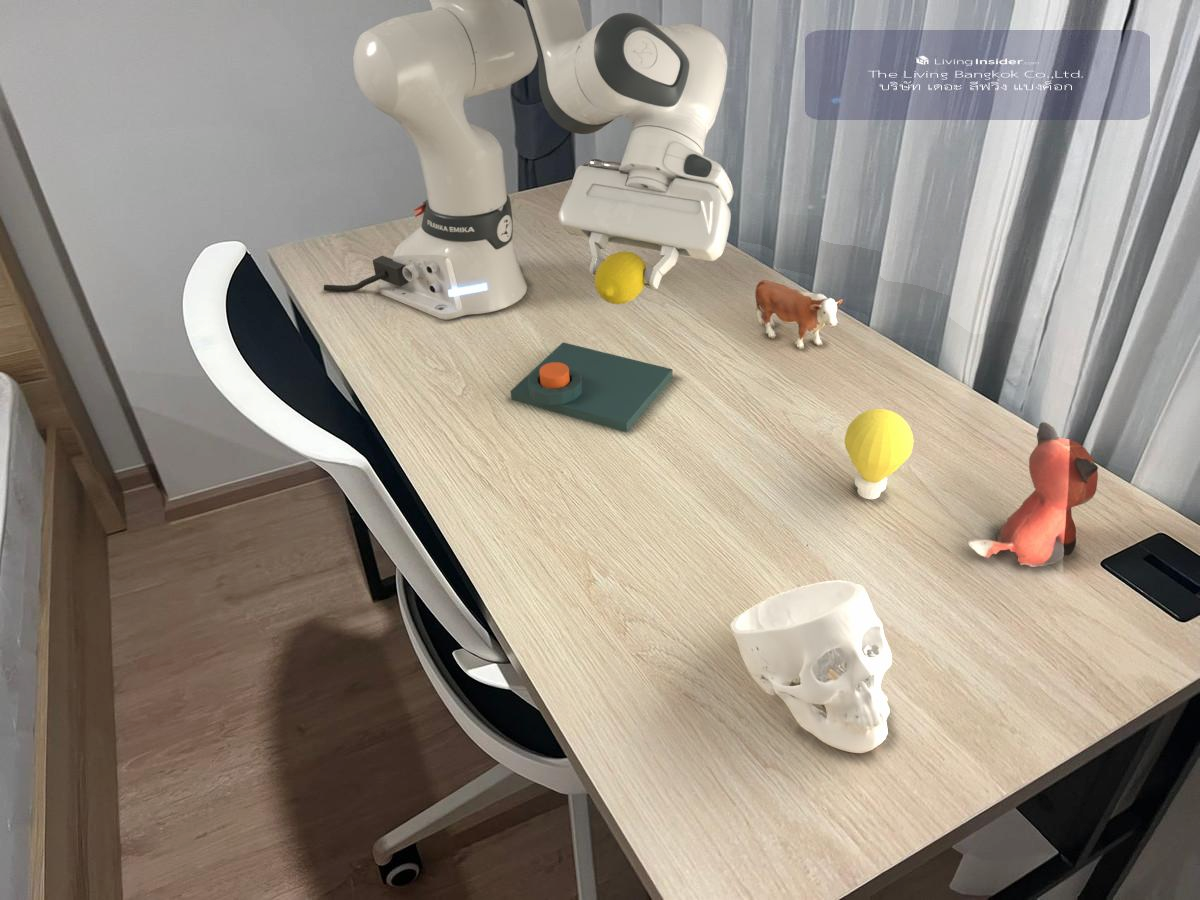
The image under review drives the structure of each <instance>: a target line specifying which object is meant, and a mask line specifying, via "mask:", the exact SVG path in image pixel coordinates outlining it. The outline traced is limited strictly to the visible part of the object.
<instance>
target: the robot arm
mask: <svg viewBox="0 0 1200 900" xmlns="http://www.w3.org/2000/svg"><path fill="white" fill-rule="evenodd" d="M428 1H429V4H430V7H431V9H430V10H425V11H421V12H415V13H411V14H410V13H409V14H405V15H400V16H396V17H392V18H390V19H388V20H385V21H383V22H381V23H379V24H377V25H375V26H373V27H371V28H369V29H367V30H365V31H364V32H362V33H361V34H360V35H359V36H358V39H357V41H356V43H355V46H354V50H353V58H352V60H353V61H352V63H353V73H354V77H355V80H356V82H357V85H358V87H359V90H360V91H361V93H362V94H363V96H364V97H365V99H367V101H368V102H369V103H370V104H371V105H372V106H374V107H375V108H376V109H377V110H379V111H380V112H382V113H384V114H386V115H388V116H389V117H391V118H392V119H394V120H395V121H396V122H397V123H398V124H399V125H401V127H402V128H403V129H404V130H405V131H406V132H407V134H408V136H409V137H410V139H411V141H412V143H413V144H414V146H415V149H416V151H417V155H418V158H419V162H420V165H421V170H422V174H423V180H424V185H425V191H426V196H427V197H426V198H427V199H426V200H425V201H423V202H422V204H421V205H419V206H418V207H416V208H414V209H413V212H415V214H414V217H415V218H417V217H419V216H421V215H423V216H422V221H421V225H420V226H419V227H417V228H416V229H415V230H413V232H412V233H410V235H408V236H407V237H405V238H404V240H402V241H401V242H400V243H399V244H398V245H397V246H396V248H395V249H394V252H393V254H392V258H391V257H388V256H385V255H380V256H378V257H376V258H374V259H372V265H373V270H374V275H372V276H369V277H367V278H364V279H362V280H361V281H359V282H358V283H356V284H350V285H340V284H324V285H323V291H325V292H355V291H359V290H361V289H362V288H365V287H366V286H368V285H370V284H372V283H375V282H377V281H379V280H381V282H380V284H379V294H381V295H382V296H385V297H387V298H390V299H392V300H394V301H397V302H399V303H402V304H404V305H406V306H409V307H412V308H413V309H417V310H418V311H421V312H423V313H426V314H428V315H431V316H432V317H435V318H437V319H440V320H445V321H447V320H454V319H457V318H461V317H464V316H469V315H480V314H487V313H492V312H496V311H500V310H503V309H505V308H508V307H510V306H512V305H514V304H516V303H517V302H519V301H520V300H521V299H523V297H524V296H525V295H526V293H527V291H528V285H527V283H526V281H525V278H524V275H523V273H522V270H521V267H520V264H519V260H518V255H517V252H516V248H515V243H514V237H513V235H514V234H513V232H514V221H513V220H514V219H513V210H512V204H511V202H512V201H511V198H510V196H509V195H508V194H507V183H506V181H507V180H506V173H505V171H506V170H505V162H504V161H505V160H504V152H503V148H502V145H501V144H500V142H499V140H498V139H497V138H496V137H495V135H493V134H492V133H491V132H490V131H489V130H487V129H485V128H482V127H481V126H478V125H476V124H472V123H470V122H469V121H468V119H467V115H466V112H465V106H464V104H465V103H464V102H465V100H467V99H471V98H475V97H478V96H481V95H485V94H489V93H492V92H497V91H501V90H503V89H506V88H508V87H509V86H511V85H513V84H515V83H516V82H519V81H520V80H521V79H524V77H526V76H528V75H529V74H531V73H532V72H533V70H534V69H535V67H536V64H537V61H538V85H539V87H538V88H539V93H540V94H539V95H540V98H541V101H542V104H543V106H544V108H545V110H546V111H547V113H548V115H549V116H550V117H551V118H552V120H553V121H554V122H555V123H557V125H558V126H560V127H561V128H563V129H565V130H566V131H568V132H571V133H573V134H577V135H589V134H594V133H596V132H598V131H600V130H602V129H603V128H605V127H606V126H607V125H609V124H610V123H612V122H613V121H614V120H616V119H618V118H621V117H622V116H623V117H625V118H626V119H629V120H630V122H631V124H632V128H631V132H630V136H629V138H628V142H627V144H626V148H625V151H624V154H623V156H622V159H621V162H618V161H608V160H607V161H605V160H602V159H598V158H592V159H590V160H589V161H586V162H584V163H582V164H581V165H579V166H577V168H576V170H575V172H574V175H573V178H572V183H571V185H570V186H569V188H568V190H567V192H566V194H565V197H564V199H563V200H562V204H561V206H560V208H559V211H558V215H557V216H558V222H559V223H560V226H561V227H562V228H563V230H565V232H567V233H568V234H570V235H571V236H576V237H582V238H586V239H588V244H589V245H588V246H589V249H590V254H591V262H590V264H589V268H588V272H589V274H590V275H591V276H593V277H595V275H596V271H597V269H598V267H599V266H600V264H601V263H602V262H603V261H604V260H605V259H603V254H602V250H605V251H606V249H607V246H608V244H609V243H612V244H619V245H622V246H628V247H633V248H640V249H645V250H648V251H649V250H650V251H655V252H659V255H660V256H661V259H659V261H657V263H656V264H655V265H654V266H653V267H652V268H651V267H646V269H645V272H644V274H645V275H644V276H643V280H642V282H643V284H644V287H646V288H649V289H650V288H651V289H656V290H657V289H658V288H659V286H660V283H661V281H662V277H663V276H665V275H666V274H667V273H668V272H669V271H670V270H671V269H672V268H673V267H674V266H675V265H676V264H677V261H678V258H679V256H681V257H686V258H692V259H697V260H702V261H707V262H715V261H716V260H717V259H719V258H720V257H721V256H722V255H723V253H724V251H725V248H726V244H727V240H728V237H729V232H730V227H731V219H732V213H731V209H730V207H729V204H730V203H731V201H732V199H733V196H734V187H733V184H732V182H731V179H730V178H729V175H728V174H727V172H726V171H725V169H724V168H723V166H722V165H721V164H720V163H718V162H717V161H715V160H713V159H711V158H709V157H707V156H705V149H706V138H707V136H708V133H709V132H710V131H711V130H712V127H713V126H714V124H715V122H716V119H717V115H718V112H719V109H720V106H721V102H722V98H723V95H724V92H725V91H724V90H725V86H726V81H727V76H728V56H727V52H726V48H725V46H724V45H723V43H722V42H721V40H720V39H719V38H718V37H717V36H716V35H715V34H713V32H711V31H709V29H706V28H705V27H703V26H700V25H697V24H693V23H681V24H677V25H663V24H657V23H653V22H651V21H650V20H648V19H647V18H645V17H643V16H642V15H639V14H636V13H632V12H621V13H618V14H617V13H616V14H614V15H612V16H610V17H609V18H607V19H605V20H603V21H601V22H600V23H598V24H597V25H596V26H594V27H592V28H591V29H590V30H589V31H587V29H586V26H585V20H584V17H583V14H582V10H581V7H580V3H579V0H522V4H523V6H522V5H521V4H520V3H518V2H516V1H515V0H428ZM416 211H417V212H416Z"/></svg>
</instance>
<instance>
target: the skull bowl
mask: <svg viewBox="0 0 1200 900" xmlns="http://www.w3.org/2000/svg"><path fill="white" fill-rule="evenodd" d="M730 630H731V632H732V635H733V637H734V639H735V641H736V644H737V646H738V649H739V652H740V656H741V658H742V661H743V662H744V665H745V667H746V669H747V671H748V673H749V674H750V676H751V677H752V679H753V680H754V682H755V683H756V684H757V685H759V687H760V688H761V689H762V690H763V691H764V692H765V693H767V694H768V695H770V696H776V695H777V696H778V697H779V698H781V700H782V701H783V703H785V704H786V706H787V708H788V709H789V711H790V712H791V714H792V717H794V719H795V720H796V722H797V724H798V725H799V726H800V727H801V728H802V729H804V730H805V731H806V732H809V733H810V734H812V735H813V736H814V737H816V738H817V739H819V740H820V741H821V742H822V743H824V744H826V745H827V746H830V747H832V748H834V749H837V750H841V751H843V752H848V753H851V754H863V753H868V752H870V751H873V750H874V749H875V748H877V747H879V746H880V745H881V744H883V742H884V741H885V740H886V738H887V736H888V734H889V733H888V732H889V730H888V725H887V720H888V717H889V715H890V713H891V711H890V707H889V704H888V697H887V695H885V693H884V692H883V691H882V687H881V684H882V680H883V677H884V675H885V673H886V672H887V671H888V669H889V668H890V667H892V663H893V656H892V652H891V649H890V646H889V644H888V641H887V639H886V636H885V632H884V628H883V622H882V621H881V619H880V618H879V617H878V616H877V614H876V612H875V610H874V608H873V605H872V602H871V600H870V598H869V595H868V593H867V591H866V589H865V587H864V586H863V585H862V584H859V583H855V582H852V581H848V580H840V579H839V580H837V579H836V580H835V579H834V580H826V581H819V582H815V583H811V584H810V583H809V584H806V585H802V586H797V587H795V588H791V589H789V590H785V591H782V592H779V593H777V594H774V595H772V596H770V597H768V598H766V599H764V600H762V601H760V602H758V603H756V604H754V605H753V606H751V607H749V608H747V609H745V610H744V611H742V612H741V613H739V614H738V615H737V616H736V617H735V618H733V620H732V621H731V623H730ZM830 669H831V670H832V671H833V672H836V673H837V674H838V675H839V676H838V677H836V679H832V678H828V676H829V674H828V673H829V670H830ZM792 683H794V684H796V685H791V684H792ZM798 683H800V684H798ZM815 705H823V706H824V708H825V710H826V711H824V710H822V709H820V708H818V707H816V706H815Z"/></svg>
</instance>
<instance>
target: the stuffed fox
mask: <svg viewBox="0 0 1200 900" xmlns="http://www.w3.org/2000/svg"><path fill="white" fill-rule="evenodd" d="M1036 440H1037V445H1036V446H1035V448H1033V450H1032V452H1031V453H1030V456H1029V459H1028V471H1029V475H1030V478H1031V482H1032V484H1033V487H1034V491H1033V492H1031V493H1030V495H1029V496H1028V497H1026V499H1024V501H1023V502H1022V504H1021V505H1020V507H1018V508H1017V509H1016V510H1015V511H1014V512H1013V513H1012V514H1011V515H1010V516H1009V517H1008V518H1007V519H1006V521H1005V522H1003V524H1002V525H1000V527H998V528H997V529H996V532H997V535H996V540H993V539H989V538H972V537H970V538H969V540H968V543H967V544H968V546H969V547H970V548H971V549H972V550H973V551H974V552H975V553H976V554H978V555H979V556H981V557H984V558H987V559H989V558H990V557H991V556H993V555H997V554H998V553H999V552H1001V551H1007V550H1010V552H1014V553H1015V555H1016V556H1017V562H1018V563H1019V566H1023V565H1025V566H1029V567H1030V568H1036V567H1046V566H1048V565H1049V566H1050V565H1054V564H1056V563H1057V562H1059V561H1060V560H1061V559H1063V558H1064V557H1065V556H1070V555H1071V554H1072V553H1073V551H1074V550H1075V548H1076V544H1077V527H1076V524H1075V521H1074V519H1073V514H1072V513H1073V512H1072V508H1074V507H1077V506H1081V505H1083V504H1086V503H1088V502H1089V501H1091V500H1092V499H1093V498H1094V496H1095V494H1096V492H1097V488H1098V482H1099V481H1098V479H1099V471H1098V469H1099V467H1098V465H1097V464H1096V463H1095V461H1094V459H1093V458H1092V456H1091V454H1090V453H1089V451H1088V450H1087V449H1086V448H1085V447H1084V446H1083V445H1081V444H1080V442H1077V441H1075V440H1073V439H1069V438H1063V437H1062V438H1061V437H1059V436H1058V433H1057V430H1056V429H1055V428H1054V427H1053V426H1052V425H1051V424H1050V423H1048V422H1045V421H1042V422H1040V423H1039V424H1038V430H1037V433H1036Z"/></svg>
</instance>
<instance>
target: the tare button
mask: <svg viewBox="0 0 1200 900" xmlns="http://www.w3.org/2000/svg"><path fill="white" fill-rule="evenodd" d="M539 373H540V384H541V385H542V387H545V388H548V389H559V388H562V387H565V386H567V385H568V384H569V382H570V377H569V368H568V366H567V365H565V364H563V363H558V362H553V363H548V364H545V365H543V366H542V367H541V368H540V370H539Z"/></svg>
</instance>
